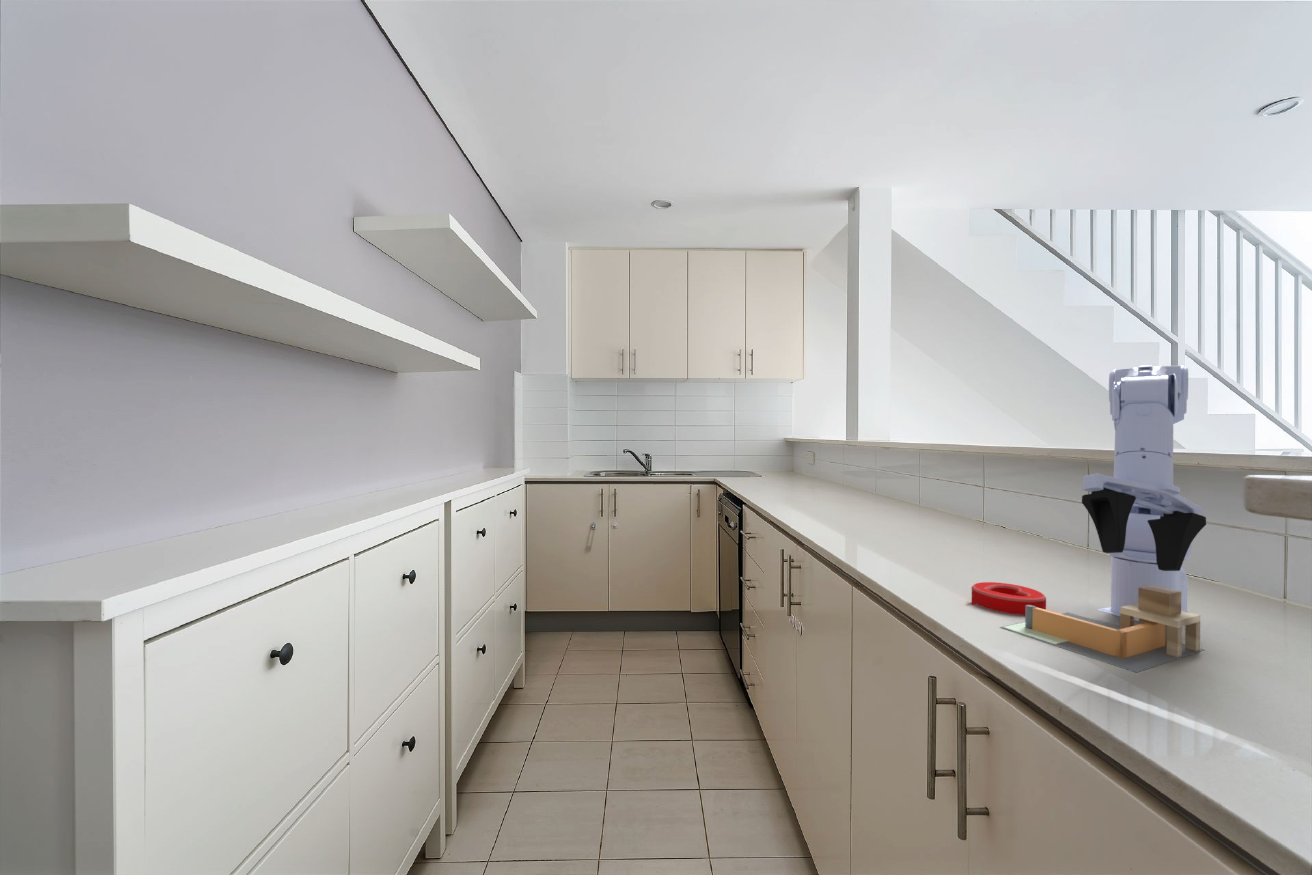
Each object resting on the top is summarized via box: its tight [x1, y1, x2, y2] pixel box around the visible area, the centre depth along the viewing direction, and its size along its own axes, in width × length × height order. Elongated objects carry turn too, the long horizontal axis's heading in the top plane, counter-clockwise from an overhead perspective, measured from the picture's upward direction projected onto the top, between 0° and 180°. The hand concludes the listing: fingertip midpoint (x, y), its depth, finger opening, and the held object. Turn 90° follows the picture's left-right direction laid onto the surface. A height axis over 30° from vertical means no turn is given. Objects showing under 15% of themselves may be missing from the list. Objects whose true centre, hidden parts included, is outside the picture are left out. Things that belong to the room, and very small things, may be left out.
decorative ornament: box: [971, 581, 1047, 616], centre depth 82 cm, size 10×10×3 cm
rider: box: [1119, 585, 1201, 657], centre depth 66 cm, size 6×6×7 cm
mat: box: [999, 611, 1205, 673], centre depth 68 cm, size 16×15×1 cm
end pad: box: [1002, 621, 1068, 646], centre depth 70 cm, size 6×6×1 cm
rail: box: [1024, 605, 1167, 659], centre depth 69 cm, size 11×11×3 cm
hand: (1140, 561), depth 65 cm, fingers open, 7 cm apart
